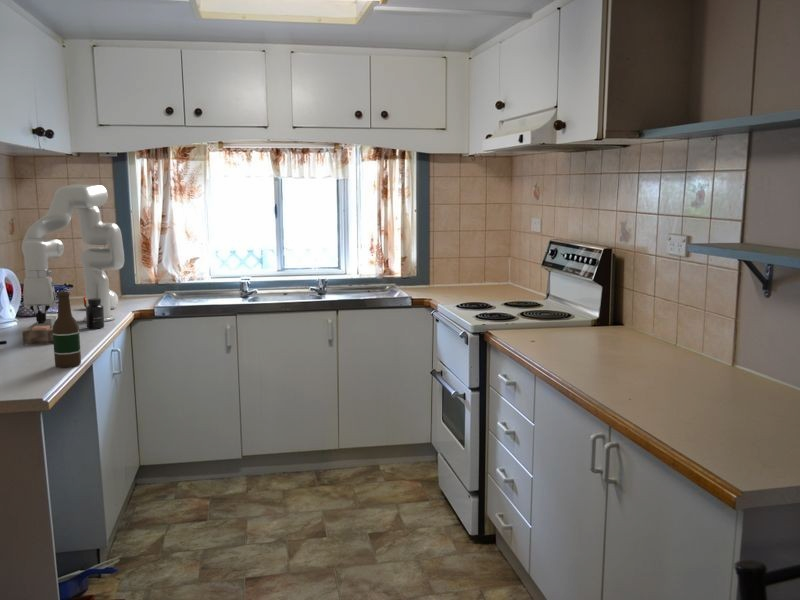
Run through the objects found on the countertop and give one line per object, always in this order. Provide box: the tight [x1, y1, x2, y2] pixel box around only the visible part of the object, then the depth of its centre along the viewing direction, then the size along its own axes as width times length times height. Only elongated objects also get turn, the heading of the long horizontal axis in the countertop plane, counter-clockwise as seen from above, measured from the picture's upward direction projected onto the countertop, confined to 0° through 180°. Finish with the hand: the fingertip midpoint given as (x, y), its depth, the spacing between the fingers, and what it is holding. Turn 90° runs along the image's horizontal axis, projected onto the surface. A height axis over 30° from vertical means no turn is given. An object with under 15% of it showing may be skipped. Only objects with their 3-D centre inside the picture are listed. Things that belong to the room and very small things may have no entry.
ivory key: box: [46, 313, 58, 321], centre depth 277 cm, size 5×5×4 cm
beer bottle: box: [53, 290, 82, 369], centre depth 227 cm, size 8×8×24 cm
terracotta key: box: [32, 325, 50, 331], centre depth 264 cm, size 5×5×4 cm
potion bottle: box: [83, 289, 119, 310], centre depth 338 cm, size 9×10×15 cm
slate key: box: [36, 317, 55, 327], centre depth 270 cm, size 5×5×4 cm
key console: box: [21, 321, 54, 346], centre depth 271 cm, size 11×21×5 cm, turn 13°
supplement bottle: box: [85, 298, 105, 330], centre depth 292 cm, size 7×7×12 cm
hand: (41, 323), depth 264 cm, fingers closed
